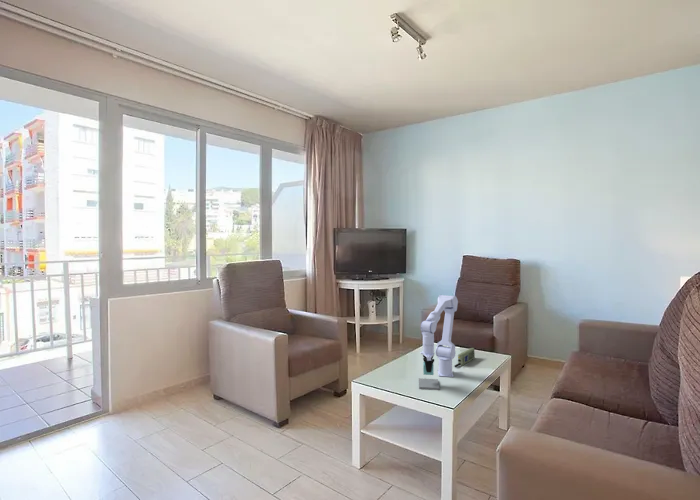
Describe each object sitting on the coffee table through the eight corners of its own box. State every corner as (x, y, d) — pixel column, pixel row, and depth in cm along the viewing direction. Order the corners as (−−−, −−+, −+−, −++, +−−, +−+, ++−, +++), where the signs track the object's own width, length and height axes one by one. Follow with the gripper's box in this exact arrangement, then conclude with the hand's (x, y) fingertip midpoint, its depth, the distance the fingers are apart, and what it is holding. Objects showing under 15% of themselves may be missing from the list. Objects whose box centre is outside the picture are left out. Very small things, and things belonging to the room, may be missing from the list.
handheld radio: (475, 358, 237) (458, 369, 218) (470, 358, 239) (453, 368, 220) (475, 348, 237) (457, 357, 218) (470, 347, 239) (452, 356, 220)
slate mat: (418, 380, 201) (418, 378, 201) (437, 381, 199) (437, 379, 199) (419, 388, 189) (419, 386, 189) (439, 389, 187) (439, 387, 187)
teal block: (423, 371, 197) (423, 361, 196) (433, 371, 196) (433, 362, 196) (423, 374, 192) (423, 364, 192) (433, 375, 191) (433, 365, 191)
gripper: (420, 340, 201) (420, 365, 201) (420, 347, 187) (421, 374, 187) (433, 340, 200) (433, 365, 200) (435, 348, 186) (435, 375, 186)
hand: (428, 370), depth 194 cm, fingers closed on teal block, 5 cm apart
